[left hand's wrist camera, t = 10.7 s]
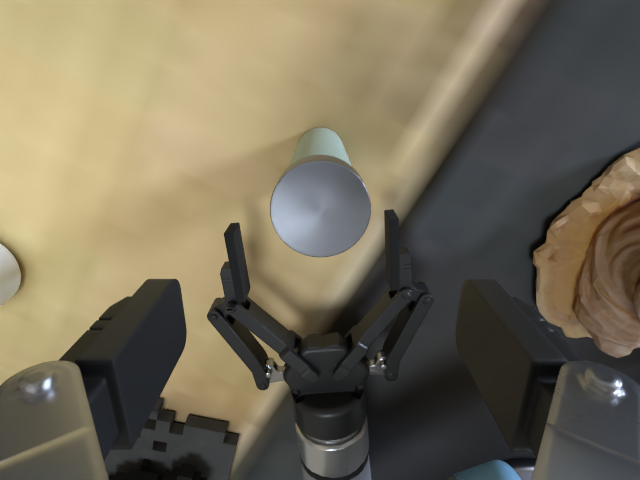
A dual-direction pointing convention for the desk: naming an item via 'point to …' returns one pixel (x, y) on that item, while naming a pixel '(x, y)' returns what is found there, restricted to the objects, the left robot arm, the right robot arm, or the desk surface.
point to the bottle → (320, 145)
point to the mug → (8, 275)
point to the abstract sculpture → (175, 450)
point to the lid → (320, 206)
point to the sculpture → (596, 262)
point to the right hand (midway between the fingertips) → (310, 220)
